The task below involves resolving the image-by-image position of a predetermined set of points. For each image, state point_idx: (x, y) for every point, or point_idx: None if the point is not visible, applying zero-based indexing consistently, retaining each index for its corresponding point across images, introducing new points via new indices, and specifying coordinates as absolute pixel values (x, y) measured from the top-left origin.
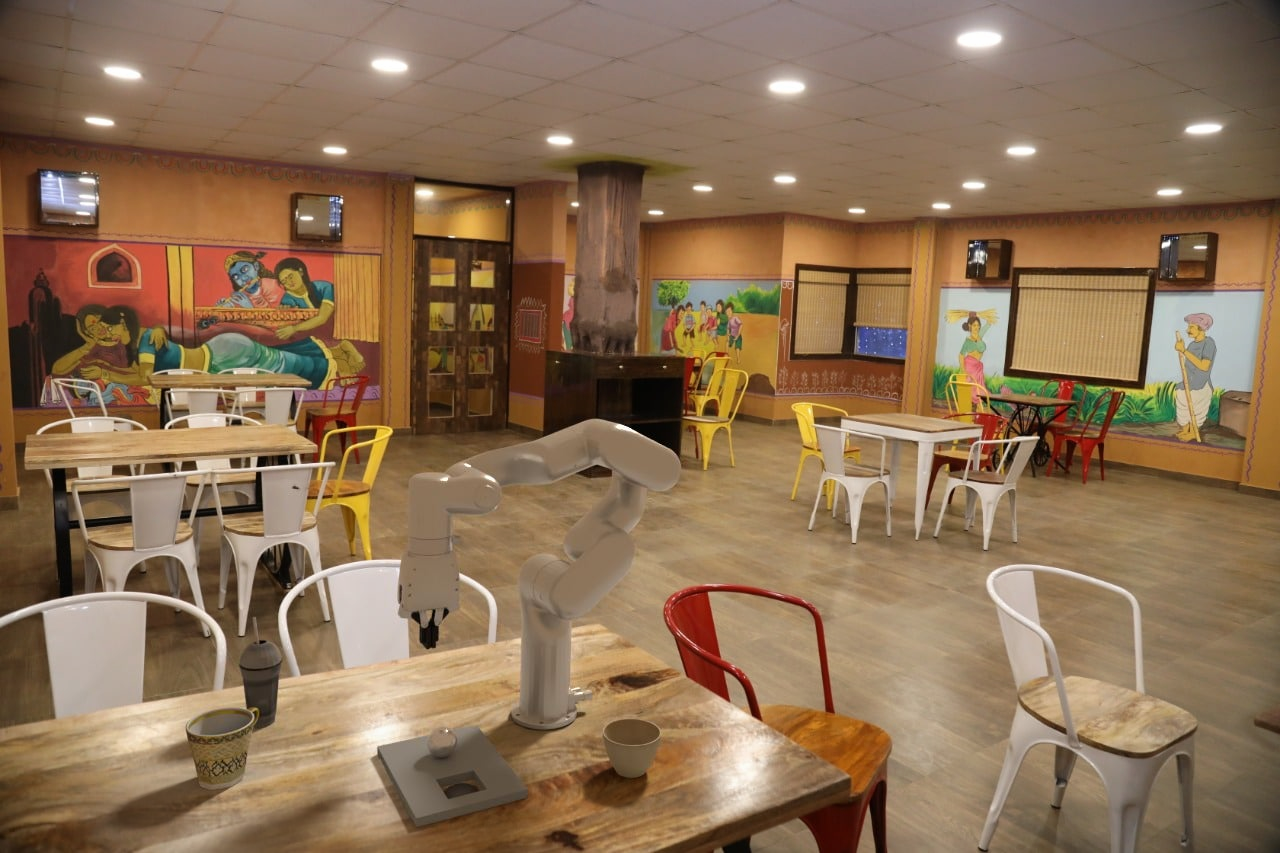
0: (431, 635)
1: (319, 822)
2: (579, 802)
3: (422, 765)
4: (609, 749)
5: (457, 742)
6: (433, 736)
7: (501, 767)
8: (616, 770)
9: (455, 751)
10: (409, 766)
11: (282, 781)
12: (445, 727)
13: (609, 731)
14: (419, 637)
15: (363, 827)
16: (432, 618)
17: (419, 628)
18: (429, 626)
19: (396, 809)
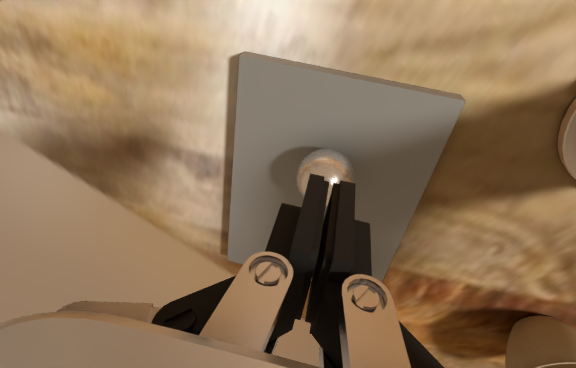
0: (312, 280)
1: (130, 177)
2: (417, 325)
3: (284, 169)
4: (508, 365)
5: (379, 141)
6: (301, 189)
7: (383, 246)
8: (511, 331)
9: (355, 166)
10: (264, 159)
11: (79, 39)
12: (329, 194)
13: (563, 351)
14: (278, 212)
15: (177, 216)
16: (333, 327)
17: (267, 244)
18: (300, 308)
19: (222, 211)
